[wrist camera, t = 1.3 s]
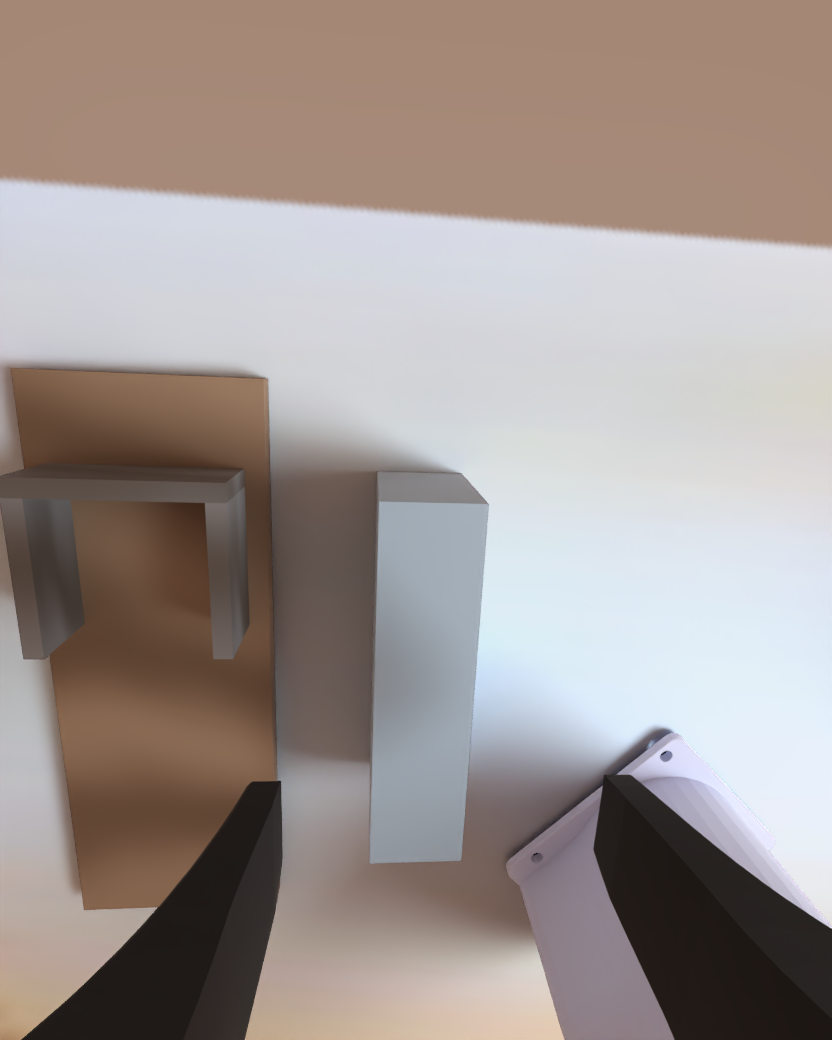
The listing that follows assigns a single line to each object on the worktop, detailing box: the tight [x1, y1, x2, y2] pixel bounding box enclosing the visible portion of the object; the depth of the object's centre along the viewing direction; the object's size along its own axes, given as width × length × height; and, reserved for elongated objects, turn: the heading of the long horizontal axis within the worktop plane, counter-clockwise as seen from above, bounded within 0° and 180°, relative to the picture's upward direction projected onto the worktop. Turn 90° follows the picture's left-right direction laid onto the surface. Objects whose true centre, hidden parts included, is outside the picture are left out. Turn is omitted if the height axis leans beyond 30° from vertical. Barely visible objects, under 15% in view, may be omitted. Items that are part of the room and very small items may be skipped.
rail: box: [369, 471, 489, 864], centre depth 19 cm, size 12×3×5 cm, turn 177°
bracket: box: [0, 368, 280, 910], centre depth 19 cm, size 21×8×3 cm, turn 177°
